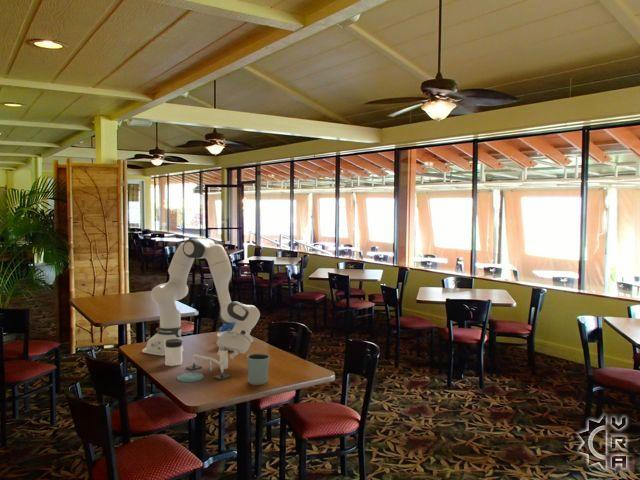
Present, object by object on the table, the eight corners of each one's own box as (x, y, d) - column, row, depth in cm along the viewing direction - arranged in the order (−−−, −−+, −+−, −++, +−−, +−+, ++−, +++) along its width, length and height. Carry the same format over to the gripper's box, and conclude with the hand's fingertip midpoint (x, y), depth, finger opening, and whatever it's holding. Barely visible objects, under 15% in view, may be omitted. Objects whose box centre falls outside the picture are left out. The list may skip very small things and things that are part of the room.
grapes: (235, 337, 315) (235, 318, 315) (238, 339, 309) (238, 320, 309) (216, 339, 310) (216, 320, 310) (219, 341, 304) (219, 322, 304)
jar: (167, 361, 263) (167, 338, 262) (183, 361, 264) (183, 338, 263) (163, 366, 254) (163, 343, 253) (180, 366, 255) (180, 342, 254)
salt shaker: (218, 369, 250) (218, 351, 250) (221, 366, 254) (221, 349, 254) (225, 369, 249) (225, 351, 249) (229, 367, 253) (229, 349, 253)
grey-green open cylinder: (243, 380, 233) (243, 355, 233) (262, 376, 239) (262, 351, 239) (253, 386, 225) (254, 360, 225) (273, 382, 231) (273, 356, 231)
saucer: (172, 380, 232) (172, 379, 232) (185, 373, 244) (185, 371, 244) (195, 383, 229) (195, 381, 229) (207, 375, 241) (207, 374, 241)
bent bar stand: (185, 368, 251) (185, 354, 250) (195, 366, 255) (195, 352, 255) (220, 380, 233) (220, 365, 233) (230, 377, 238) (230, 362, 237)
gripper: (223, 327, 264) (208, 349, 257) (249, 333, 251) (234, 356, 244) (229, 334, 267) (215, 356, 260) (255, 340, 254) (241, 363, 247)
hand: (224, 356), depth 252 cm, fingers open, 8 cm apart
